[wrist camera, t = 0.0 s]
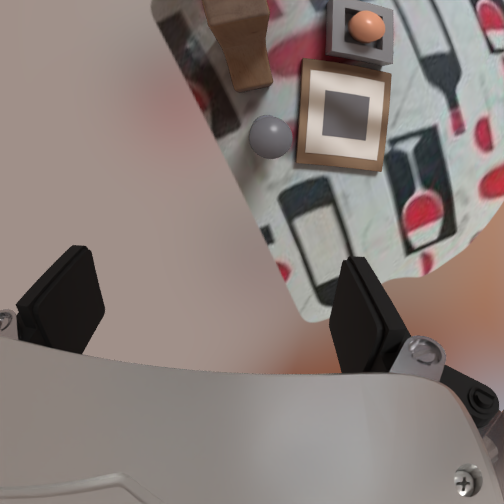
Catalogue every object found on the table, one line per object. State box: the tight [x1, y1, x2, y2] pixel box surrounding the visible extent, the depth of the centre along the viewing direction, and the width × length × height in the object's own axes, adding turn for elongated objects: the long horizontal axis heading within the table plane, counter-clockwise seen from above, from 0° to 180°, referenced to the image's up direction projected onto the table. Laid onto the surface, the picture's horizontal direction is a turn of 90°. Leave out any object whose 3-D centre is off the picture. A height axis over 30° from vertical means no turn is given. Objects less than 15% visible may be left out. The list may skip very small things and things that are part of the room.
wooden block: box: [202, 0, 273, 93], centre depth 25 cm, size 9×4×18 cm, turn 13°
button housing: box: [325, 0, 393, 66], centre depth 29 cm, size 8×8×4 cm
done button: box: [348, 11, 385, 43], centre depth 27 cm, size 4×4×2 cm
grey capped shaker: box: [249, 115, 292, 159], centre depth 33 cm, size 4×4×10 cm
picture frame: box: [296, 58, 391, 172], centre depth 35 cm, size 14×12×1 cm
